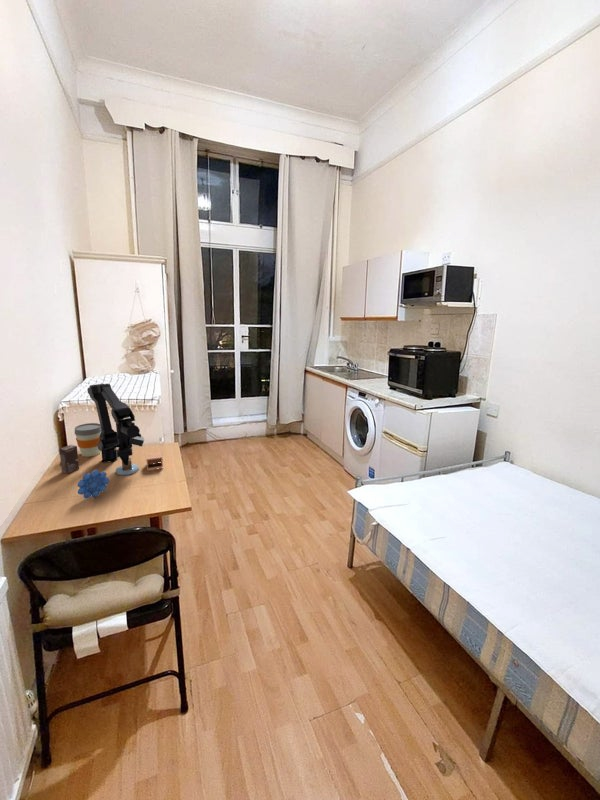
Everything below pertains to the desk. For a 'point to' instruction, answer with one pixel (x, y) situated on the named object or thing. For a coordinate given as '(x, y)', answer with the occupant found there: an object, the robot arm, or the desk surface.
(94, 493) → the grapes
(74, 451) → the box
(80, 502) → the desk surface
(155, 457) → the container
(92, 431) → the reusable coffee cup
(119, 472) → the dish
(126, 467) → the block
